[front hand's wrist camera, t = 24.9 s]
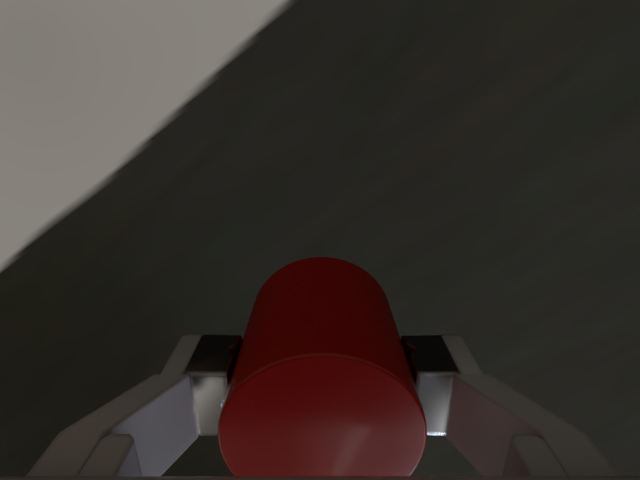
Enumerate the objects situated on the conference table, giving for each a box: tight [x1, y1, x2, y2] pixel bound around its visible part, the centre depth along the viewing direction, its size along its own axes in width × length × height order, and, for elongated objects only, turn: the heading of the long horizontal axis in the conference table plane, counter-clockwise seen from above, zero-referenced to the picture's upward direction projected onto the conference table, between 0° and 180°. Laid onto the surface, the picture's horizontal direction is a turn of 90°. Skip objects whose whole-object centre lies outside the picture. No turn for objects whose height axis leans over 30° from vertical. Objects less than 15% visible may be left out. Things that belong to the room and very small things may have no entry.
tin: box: [217, 257, 427, 476], centre depth 10 cm, size 4×4×4 cm
